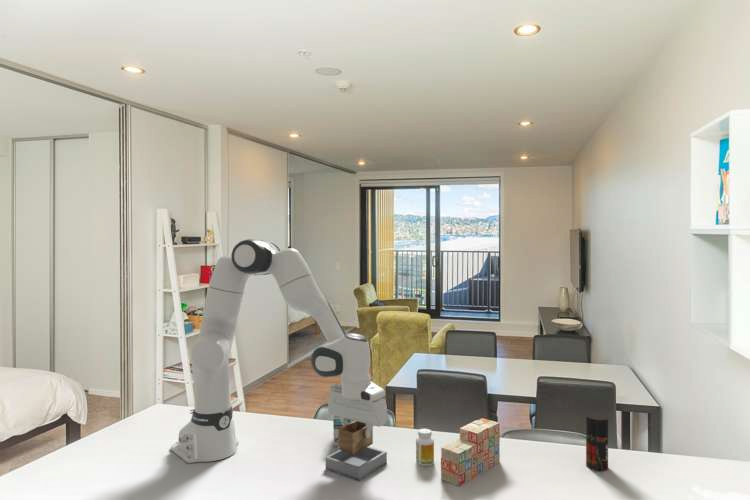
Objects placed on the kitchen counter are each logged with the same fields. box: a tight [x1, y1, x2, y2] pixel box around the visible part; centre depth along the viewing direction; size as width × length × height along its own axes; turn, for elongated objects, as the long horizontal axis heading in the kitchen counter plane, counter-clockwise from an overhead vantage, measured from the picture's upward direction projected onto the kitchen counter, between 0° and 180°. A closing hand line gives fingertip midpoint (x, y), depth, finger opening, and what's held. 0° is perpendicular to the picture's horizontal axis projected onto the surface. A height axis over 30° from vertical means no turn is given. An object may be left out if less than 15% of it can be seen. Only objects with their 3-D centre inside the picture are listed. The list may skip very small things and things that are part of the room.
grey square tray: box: [324, 446, 388, 482], centre depth 147 cm, size 13×14×4 cm
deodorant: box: [585, 412, 609, 472], centre depth 146 cm, size 6×6×15 cm
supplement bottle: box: [415, 428, 435, 467], centre depth 149 cm, size 5×5×10 cm
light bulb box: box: [332, 415, 354, 447], centre depth 167 cm, size 11×7×11 cm, turn 179°
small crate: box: [337, 421, 374, 454], centre depth 147 cm, size 9×6×6 cm, turn 144°
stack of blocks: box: [440, 417, 501, 487], centre depth 144 cm, size 21×6×12 cm, turn 135°
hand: (356, 434), depth 147 cm, fingers closed on small crate, 6 cm apart
